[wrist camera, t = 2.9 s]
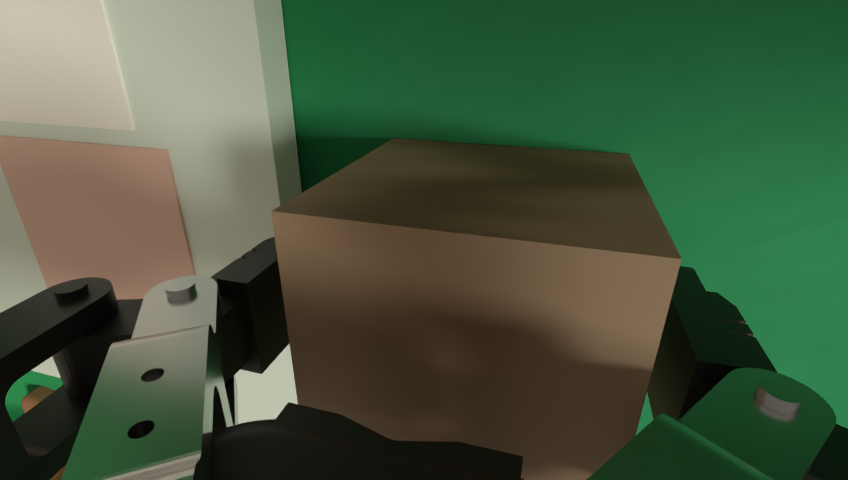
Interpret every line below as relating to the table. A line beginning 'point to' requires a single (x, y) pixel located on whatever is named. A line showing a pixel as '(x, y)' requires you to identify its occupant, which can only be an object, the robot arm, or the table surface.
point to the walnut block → (480, 298)
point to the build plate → (143, 149)
